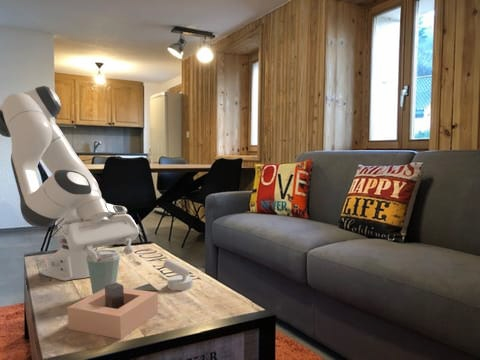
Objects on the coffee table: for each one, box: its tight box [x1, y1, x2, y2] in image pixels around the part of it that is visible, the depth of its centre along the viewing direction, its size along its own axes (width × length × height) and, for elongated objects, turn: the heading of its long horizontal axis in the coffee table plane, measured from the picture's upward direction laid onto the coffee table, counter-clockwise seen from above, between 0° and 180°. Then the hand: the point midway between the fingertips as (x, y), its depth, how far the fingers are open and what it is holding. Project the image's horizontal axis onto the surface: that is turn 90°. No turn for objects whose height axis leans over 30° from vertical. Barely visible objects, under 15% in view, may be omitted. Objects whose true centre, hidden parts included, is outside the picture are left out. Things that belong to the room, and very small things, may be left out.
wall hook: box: [163, 258, 194, 291], centre depth 137 cm, size 9×10×10 cm
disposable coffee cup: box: [86, 249, 122, 295], centre depth 128 cm, size 11×11×15 cm
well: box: [66, 287, 159, 340], centre depth 110 cm, size 17×17×6 cm
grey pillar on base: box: [105, 282, 124, 309], centre depth 110 cm, size 5×5×10 cm
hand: (114, 256), depth 109 cm, fingers open, 8 cm apart
